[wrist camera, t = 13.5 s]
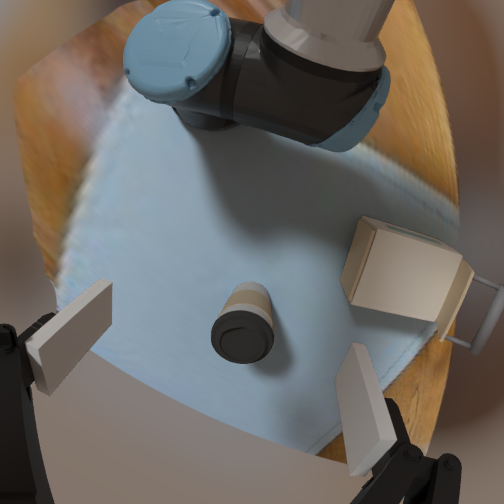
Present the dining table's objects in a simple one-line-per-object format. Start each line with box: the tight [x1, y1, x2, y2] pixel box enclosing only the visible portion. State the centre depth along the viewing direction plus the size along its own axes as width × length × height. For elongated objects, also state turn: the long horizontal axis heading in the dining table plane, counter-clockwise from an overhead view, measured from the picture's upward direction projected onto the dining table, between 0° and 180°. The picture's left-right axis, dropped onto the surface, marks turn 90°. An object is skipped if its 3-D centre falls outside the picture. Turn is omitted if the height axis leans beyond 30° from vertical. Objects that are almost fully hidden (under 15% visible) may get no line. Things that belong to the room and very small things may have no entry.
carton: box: [340, 215, 463, 322], centre depth 47 cm, size 12×17×9 cm
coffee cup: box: [211, 282, 274, 364], centre depth 49 cm, size 9×9×15 cm
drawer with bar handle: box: [436, 259, 504, 355], centre depth 37 cm, size 11×8×8 cm
